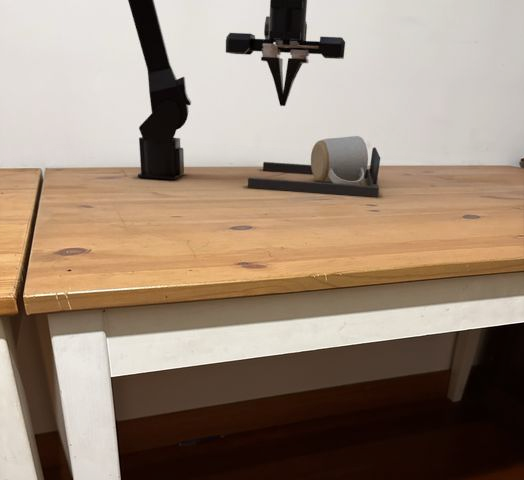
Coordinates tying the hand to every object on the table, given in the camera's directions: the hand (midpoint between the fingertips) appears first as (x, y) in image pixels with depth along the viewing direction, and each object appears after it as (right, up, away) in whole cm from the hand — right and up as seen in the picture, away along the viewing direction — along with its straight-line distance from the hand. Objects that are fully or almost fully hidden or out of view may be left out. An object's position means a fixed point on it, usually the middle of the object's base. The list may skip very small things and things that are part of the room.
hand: (282, 105), depth 88 cm
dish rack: (+5, -11, +5) cm, 13 cm away
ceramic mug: (+10, -12, +5) cm, 16 cm away
